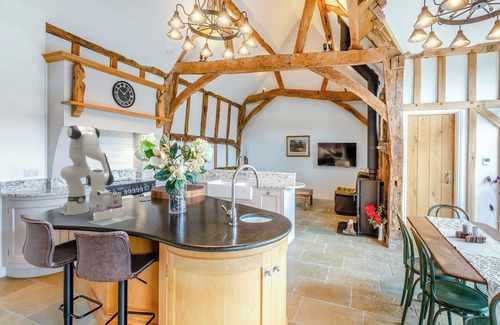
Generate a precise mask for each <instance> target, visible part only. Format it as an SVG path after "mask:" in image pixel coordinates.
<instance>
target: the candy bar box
mask: <svg viewBox="0 0 500 325" xmlns="http://www.w3.org/2000/svg"><path fill="white" fill-rule="evenodd" d="M108 195H109V199H110V203H109V205H105V211H107V210H110V209H117V208H122V207H123V203H122V202H123V200H122V199H123V198H122V192H115V193H109V194H108Z"/></svg>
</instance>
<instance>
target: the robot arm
mask: <svg viewBox="0 0 500 325" xmlns="http://www.w3.org/2000/svg"><path fill="white" fill-rule="evenodd" d="M66 132H67V133H66V134H67V136H68V138H69V139H70V140H69V148H68V149H69V151H68V158H69V159H70V160H71V161H72V164H73V165H67V166H65V167H62V168H61V170H60V176H61V178H62V179H64V180H65V182H66V184H67V188H68V196H67V200H66V202H65V203H64V204H63V206H62V210H61V211H59V213H60V214H61V213H62V214H61V215H63V214H64V215H63V216H74V215H75V216H77V215H83V214H86V213H88V212H89V211H90V209H89V204H90V205H95V208H96V210H97V212H102V210H103V209H102V208H103V206H105V207H106V205H109V203H110V199H109V195H108V194H110V191H109V190H108V189H106V186H108V187H109V186H111V185H112V184H113V183H114V182H115V178H114V175H113V172H112V171H111V167H110V166H111V165H110V164H109V161H108V157H107V155H106V153H104V152H103V151H102V150H101V146H100V141H99V138H100V135H101V133H100V130H99V128H96V127H93V126H92V127H91V126H86V125H70V126H68V128H67V131H66ZM86 158H90V159H92V160H96V161H98V162H100V163H101V166H102V169H99V168H98V169H97V168H96V169H91V167H90V166H89V165H88V162H87V159H86ZM83 178H85V185H87V186H88V187H90V188H91V190H90V193H89V195H88V201H87V195H86V186H85V185H84V184H83V182H82V180H81V179H83Z"/></svg>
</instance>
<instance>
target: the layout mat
mask: <svg viewBox="0 0 500 325" xmlns="http://www.w3.org/2000/svg"><path fill="white" fill-rule="evenodd" d="M134 218H135V219H136V217H134V216H130V215H129V216H128V215H125V216H118V217H113V218H112V219H110V218H109V219H105V220H100V221H96V222H93V220H89V221H87V223H88V224H91V225H95V226H99V227H100V226H101V227H106V226H111V225H115V224H118V223H123V222H127V221H130V219H131V220H134ZM126 220H127V221H126Z"/></svg>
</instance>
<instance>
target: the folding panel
mask: <svg viewBox="0 0 500 325" xmlns="http://www.w3.org/2000/svg"><path fill="white" fill-rule="evenodd" d="M92 218H93V219H92V221H93V222H96V221H100V220H105V219H109V218H110V210H107V211H106V210H103V211H102V210H101V211H97V212H93V213H92Z"/></svg>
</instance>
